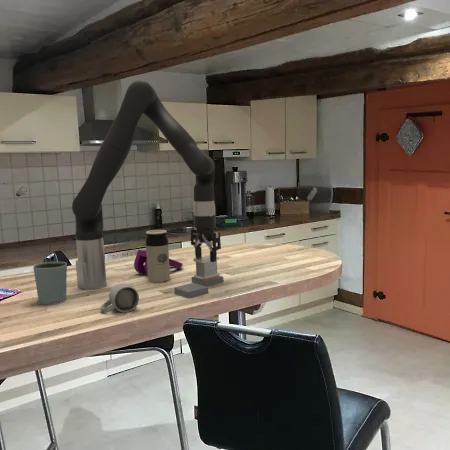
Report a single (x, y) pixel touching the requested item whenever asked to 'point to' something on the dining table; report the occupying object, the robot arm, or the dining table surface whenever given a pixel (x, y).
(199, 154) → the robot arm
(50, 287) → the green tapered cup
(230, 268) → the dining table surface
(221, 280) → the stand right
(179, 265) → the mounting bracket
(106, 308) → the ceramic mug
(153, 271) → the travel mug
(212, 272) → the housing
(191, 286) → the stand left
